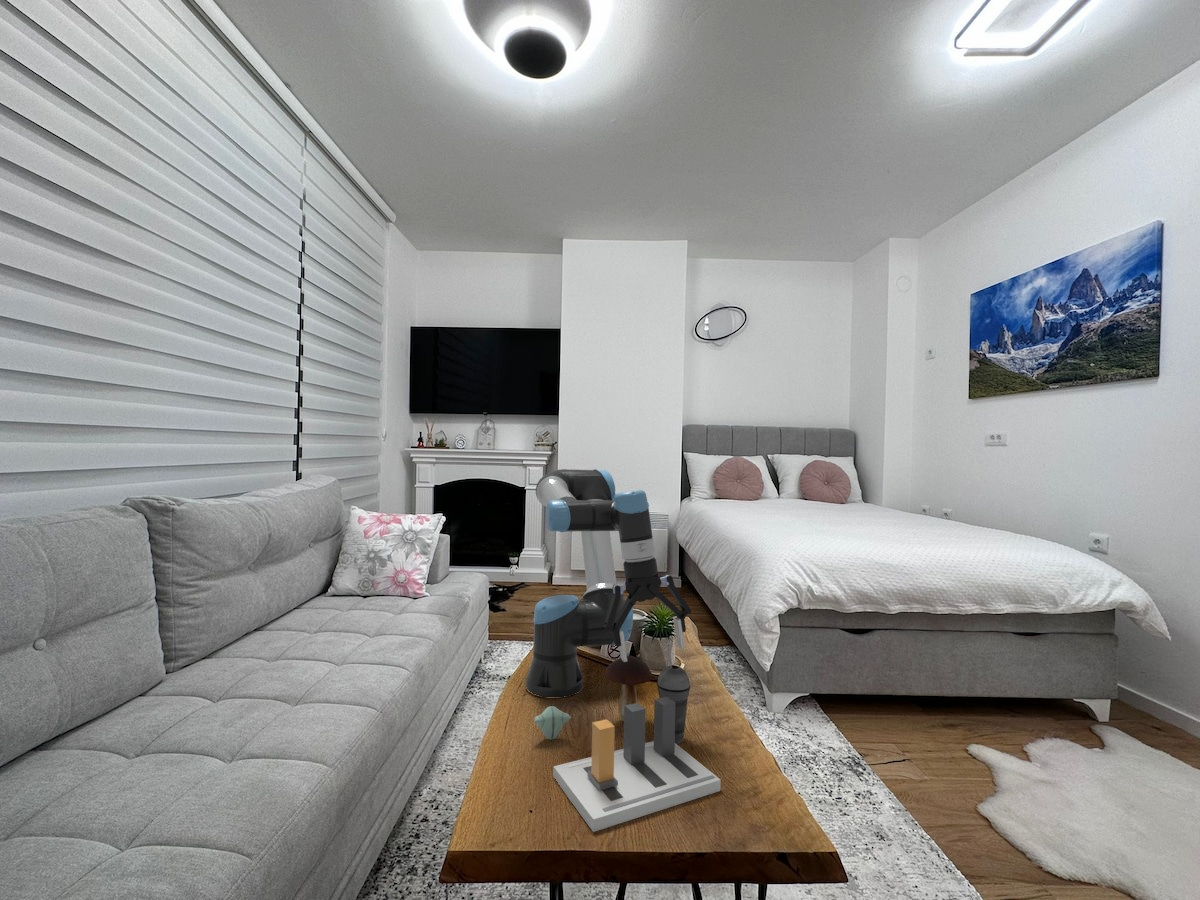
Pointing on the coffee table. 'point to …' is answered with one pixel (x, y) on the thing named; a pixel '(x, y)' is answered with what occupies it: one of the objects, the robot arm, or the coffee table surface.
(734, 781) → the coffee table surface
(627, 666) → the decorative mushroom
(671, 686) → the beverage cup
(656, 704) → the slotted peg board
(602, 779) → the breaker handle
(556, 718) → the green toy bird
